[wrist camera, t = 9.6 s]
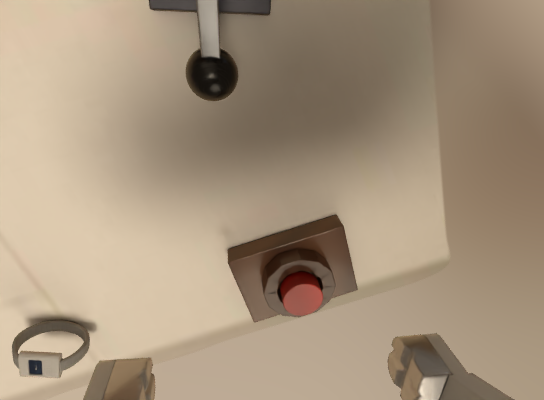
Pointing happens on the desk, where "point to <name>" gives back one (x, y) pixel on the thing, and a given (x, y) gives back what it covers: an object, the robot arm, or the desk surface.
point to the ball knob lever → (210, 58)
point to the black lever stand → (253, 3)
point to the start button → (301, 293)
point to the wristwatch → (47, 361)
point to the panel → (292, 265)
